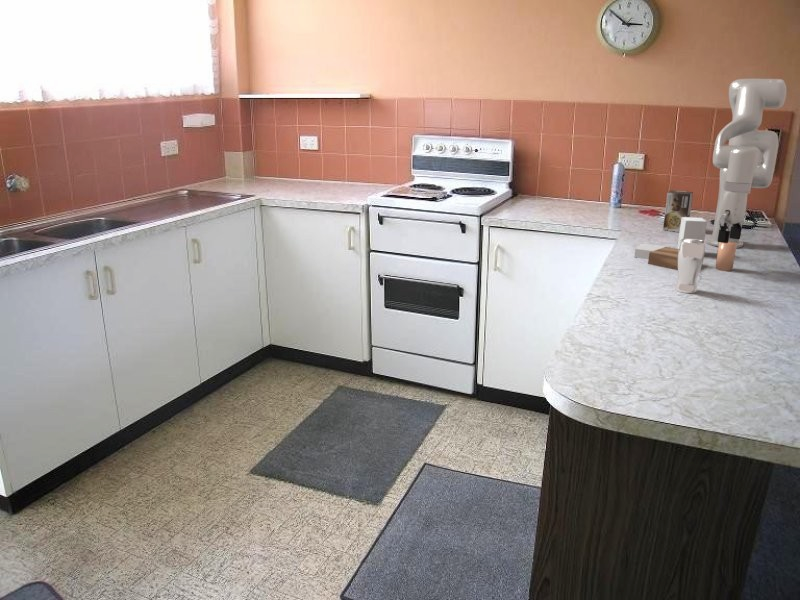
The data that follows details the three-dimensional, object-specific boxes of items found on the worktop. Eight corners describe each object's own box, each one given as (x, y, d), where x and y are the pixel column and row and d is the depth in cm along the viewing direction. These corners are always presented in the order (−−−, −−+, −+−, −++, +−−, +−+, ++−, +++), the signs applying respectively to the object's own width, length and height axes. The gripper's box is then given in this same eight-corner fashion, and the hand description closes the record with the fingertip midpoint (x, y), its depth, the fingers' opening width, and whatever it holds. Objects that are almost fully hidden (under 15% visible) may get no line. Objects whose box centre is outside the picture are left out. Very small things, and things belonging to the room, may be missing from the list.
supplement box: (702, 256, 236) (707, 221, 232) (680, 255, 237) (685, 220, 233) (697, 251, 243) (703, 217, 239) (676, 250, 244) (681, 216, 240)
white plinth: (640, 251, 242) (641, 243, 241) (669, 255, 237) (670, 246, 236) (634, 257, 234) (635, 248, 233) (664, 261, 229) (665, 252, 228)
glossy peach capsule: (719, 266, 224) (723, 239, 221) (734, 269, 220) (739, 242, 218) (712, 268, 221) (716, 242, 218) (728, 272, 217) (733, 245, 214)
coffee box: (688, 230, 277) (694, 191, 272) (685, 233, 272) (691, 193, 267) (665, 227, 282) (670, 189, 277) (662, 230, 276) (667, 191, 271)
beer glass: (697, 288, 200) (705, 239, 195) (699, 294, 193) (707, 244, 189) (672, 285, 202) (679, 237, 197) (673, 292, 195) (680, 242, 191)
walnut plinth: (664, 257, 234) (665, 246, 232) (698, 264, 225) (700, 253, 224) (647, 263, 226) (649, 252, 224) (682, 271, 217) (684, 259, 216)
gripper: (735, 184, 220) (727, 235, 225) (714, 188, 209) (705, 242, 214) (760, 187, 215) (750, 239, 220) (739, 191, 204) (730, 246, 209)
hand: (728, 240), depth 217 cm, fingers open, 9 cm apart
